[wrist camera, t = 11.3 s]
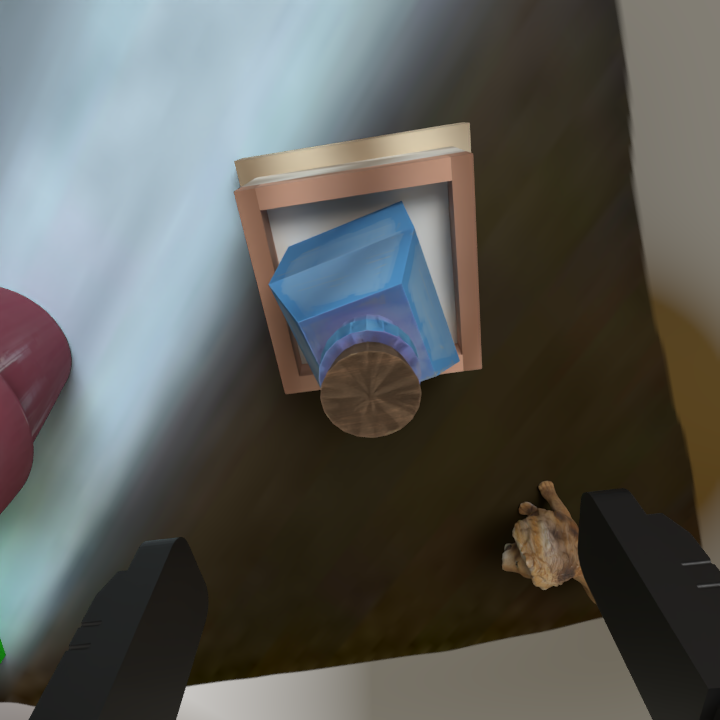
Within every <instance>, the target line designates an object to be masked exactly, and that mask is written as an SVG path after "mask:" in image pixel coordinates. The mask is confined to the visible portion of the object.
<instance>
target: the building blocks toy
mask: <svg viewBox="0 0 720 720" xmlns="http://www.w3.org/2000/svg"><path fill="white" fill-rule="evenodd" d="M5 655H6V654H5V651H4V648H3V645H2V642H1V639H0V663H1V661H2V660H3V658H4V657H5Z"/></svg>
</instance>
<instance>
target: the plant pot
mask: <svg viewBox="0 0 720 720" xmlns="http://www.w3.org/2000/svg"><path fill="white" fill-rule="evenodd" d="M70 370H71V352H70V348H69V345H68V342H67V340H66V337H65V335H64V333H63V332H62V330H61V329H60V327H59V326H58V324H57V323H56V322H55V320H54V319H53V318H52V317H51V316H50V315H49V314H48V313H47V312H46V311H45V310H44V309H43V308H41V307H40V306H39V305H37V304H36V303H34V302H33V301H31V300H30V299H28V298H26V297H25V296H23V295H20V294H18V293H16V292H14V291H11V290H8V289H5V288H1V287H0V514H1V513H2V512H3V510H4V509H5V508H6V507H7V506H8V505H9V503H10V502H11V501H12V500H13V499H14V497H15V496H16V495H17V494H18V492H19V491H20V490H21V488H22V487H23V485H24V484H25V482H26V481H27V479H28V476H29V473H30V471H31V467H32V463H33V454H34V446H33V442H34V440H35V439H36V437H37V435H38V433H39V431H40V430H41V428H42V426H43V424H44V422H45V420H46V419H47V417H48V415H49V413H50V411H51V409H52V407H53V405H54V404H55V402H56V400H57V398H58V396H59V394H60V392H61V390H62V388H63V386H64V384H65V383H66V381H67V379H68V376H69V374H70Z"/></svg>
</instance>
